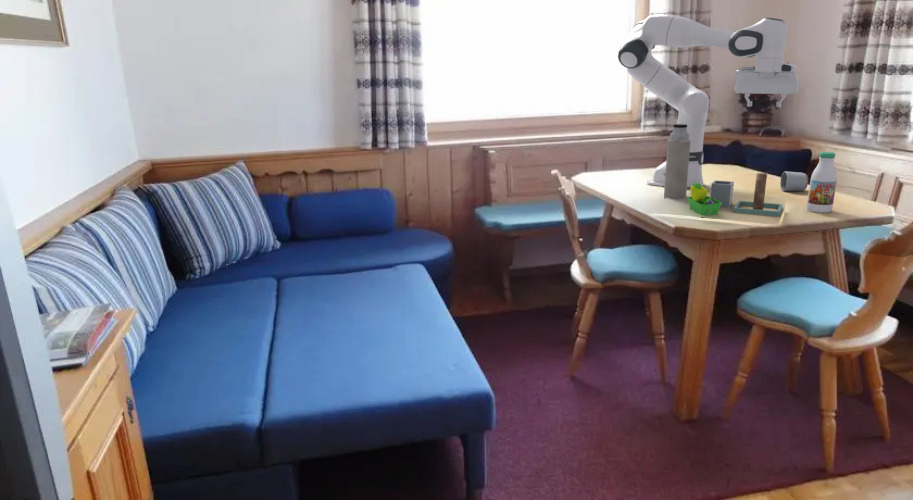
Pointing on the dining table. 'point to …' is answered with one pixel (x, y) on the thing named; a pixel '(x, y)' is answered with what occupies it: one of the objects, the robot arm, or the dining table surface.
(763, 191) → the dowel pin
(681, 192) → the thermos bottle
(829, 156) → the milk bottle
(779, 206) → the tray
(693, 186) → the fruit basket
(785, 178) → the ceramic mug
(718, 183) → the pen cup
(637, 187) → the dining table surface
